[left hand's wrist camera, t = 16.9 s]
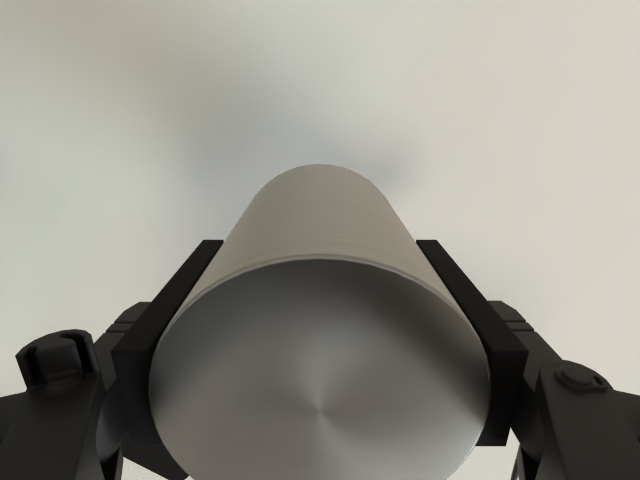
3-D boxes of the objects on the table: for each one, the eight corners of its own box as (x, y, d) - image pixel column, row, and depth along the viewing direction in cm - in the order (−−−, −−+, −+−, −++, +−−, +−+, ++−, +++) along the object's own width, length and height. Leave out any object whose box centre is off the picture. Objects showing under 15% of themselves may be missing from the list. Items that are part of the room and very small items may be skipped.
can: (392, 153, 16) (499, 230, 6) (401, 300, 18) (487, 510, 9) (226, 175, 16) (95, 281, 7) (258, 316, 18) (196, 535, 9)
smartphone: (276, 391, 30) (179, 485, 34) (277, 385, 31) (182, 478, 35) (201, 345, 28) (109, 450, 33) (204, 339, 29) (113, 443, 33)
